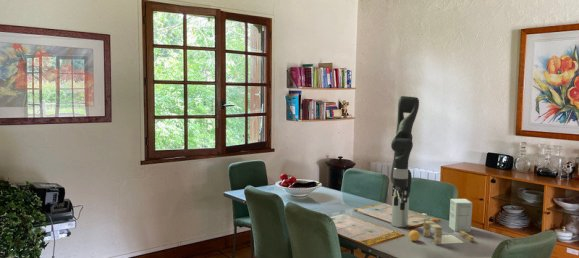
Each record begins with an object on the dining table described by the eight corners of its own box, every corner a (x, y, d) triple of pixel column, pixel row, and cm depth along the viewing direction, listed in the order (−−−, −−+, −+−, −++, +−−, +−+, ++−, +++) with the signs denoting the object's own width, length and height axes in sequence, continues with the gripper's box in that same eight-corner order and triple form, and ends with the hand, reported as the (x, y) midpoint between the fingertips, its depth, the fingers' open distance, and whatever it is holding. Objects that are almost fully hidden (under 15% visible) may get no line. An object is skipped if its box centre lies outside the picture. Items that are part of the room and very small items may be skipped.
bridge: (422, 235, 247) (423, 219, 246) (428, 235, 248) (428, 218, 247) (435, 244, 233) (436, 227, 232) (441, 244, 234) (442, 227, 233)
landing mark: (431, 236, 247) (431, 235, 247) (452, 235, 249) (452, 234, 249) (442, 243, 235) (442, 243, 235) (463, 242, 237) (464, 242, 237)
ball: (406, 239, 241) (407, 229, 240) (416, 238, 242) (417, 228, 241) (411, 242, 236) (411, 232, 235) (421, 242, 236) (421, 232, 236)
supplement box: (464, 226, 265) (466, 198, 263) (471, 232, 255) (473, 202, 254) (448, 226, 264) (450, 198, 262) (454, 231, 255) (456, 202, 253)
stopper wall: (459, 235, 249) (459, 230, 249) (462, 235, 249) (462, 230, 249) (470, 242, 238) (470, 237, 238) (473, 242, 238) (474, 237, 238)
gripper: (413, 179, 227) (411, 211, 229) (401, 173, 241) (400, 204, 243) (399, 179, 226) (397, 211, 228) (388, 174, 240) (386, 204, 242)
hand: (398, 207), depth 235 cm, fingers open, 7 cm apart
